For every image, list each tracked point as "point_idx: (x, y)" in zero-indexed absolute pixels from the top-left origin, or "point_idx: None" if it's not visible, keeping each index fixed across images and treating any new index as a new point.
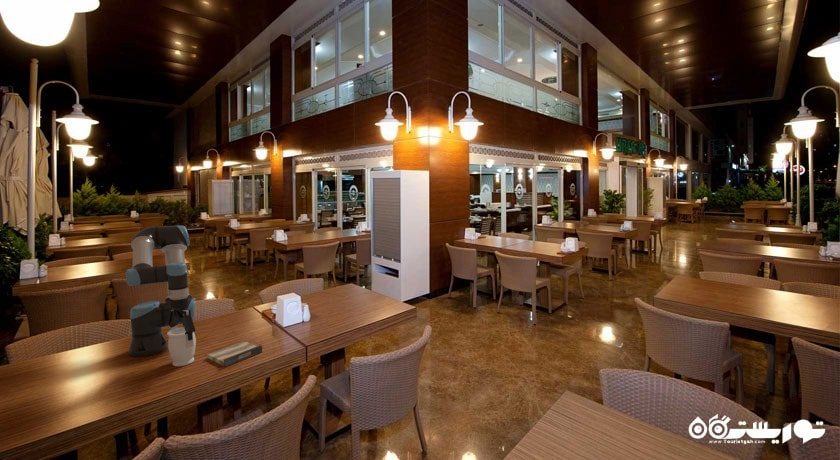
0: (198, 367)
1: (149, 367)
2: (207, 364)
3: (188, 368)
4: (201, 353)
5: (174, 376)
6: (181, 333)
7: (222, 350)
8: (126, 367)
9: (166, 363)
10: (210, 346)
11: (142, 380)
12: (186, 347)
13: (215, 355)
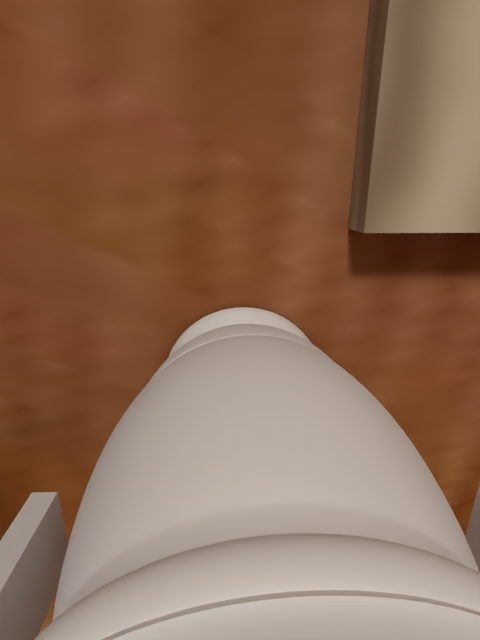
0: (437, 355)
1: None
2: (458, 290)
3: (381, 402)
4: (184, 201)
5: None
6: (62, 572)
7: (434, 67)
8: None
9: None
10: (64, 26)
11: None
12: (476, 554)
13: (474, 199)
